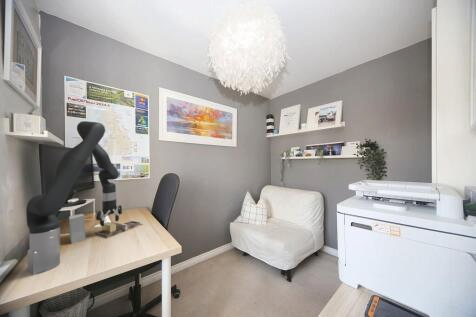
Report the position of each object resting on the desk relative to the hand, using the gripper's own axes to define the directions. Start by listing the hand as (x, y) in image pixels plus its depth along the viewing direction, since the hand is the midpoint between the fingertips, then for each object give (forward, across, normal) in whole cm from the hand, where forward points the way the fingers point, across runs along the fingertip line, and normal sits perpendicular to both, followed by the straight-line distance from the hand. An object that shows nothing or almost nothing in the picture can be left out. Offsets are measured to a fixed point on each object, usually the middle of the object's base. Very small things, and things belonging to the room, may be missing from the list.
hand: (109, 223), depth 111 cm
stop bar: (+6, 0, 0) cm, 6 cm away
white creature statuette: (+8, +7, +19) cm, 22 cm away
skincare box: (+7, -14, +7) cm, 17 cm away
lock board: (+7, +6, 0) cm, 9 cm away
